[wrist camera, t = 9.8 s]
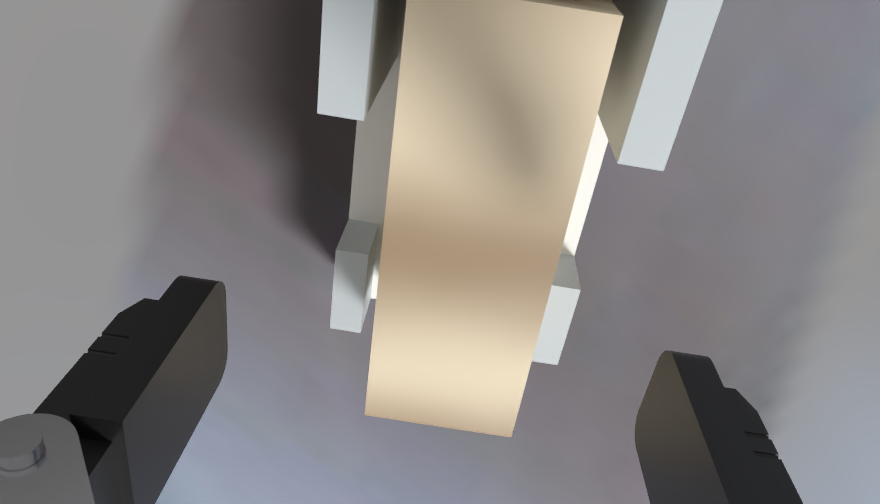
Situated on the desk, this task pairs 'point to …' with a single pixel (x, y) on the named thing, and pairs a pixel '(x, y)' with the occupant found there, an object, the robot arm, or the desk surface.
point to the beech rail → (480, 200)
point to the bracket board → (618, 121)
